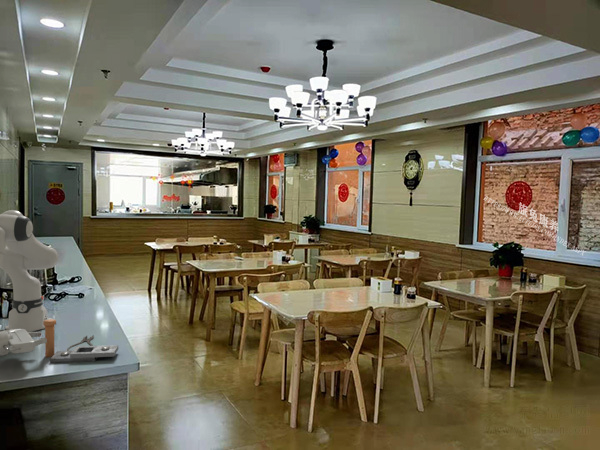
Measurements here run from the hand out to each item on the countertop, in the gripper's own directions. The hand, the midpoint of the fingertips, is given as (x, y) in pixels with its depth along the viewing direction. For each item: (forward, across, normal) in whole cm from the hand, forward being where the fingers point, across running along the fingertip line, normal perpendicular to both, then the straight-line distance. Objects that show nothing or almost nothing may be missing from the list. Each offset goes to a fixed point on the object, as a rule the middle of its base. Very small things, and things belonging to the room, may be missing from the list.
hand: (43, 337), depth 176 cm
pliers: (+16, +8, +9) cm, 20 cm away
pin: (+2, 0, +8) cm, 8 cm away
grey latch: (+12, -10, +8) cm, 18 cm away
